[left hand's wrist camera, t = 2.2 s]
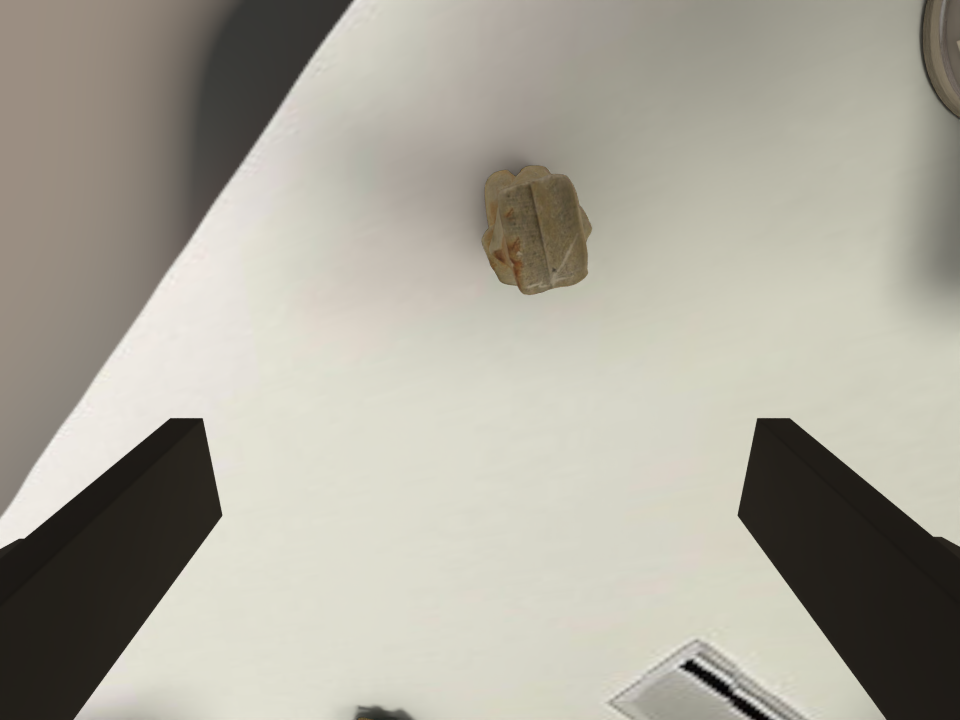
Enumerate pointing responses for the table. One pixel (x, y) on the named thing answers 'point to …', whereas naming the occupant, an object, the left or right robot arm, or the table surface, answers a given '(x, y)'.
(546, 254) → the sculpture
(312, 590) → the table surface
